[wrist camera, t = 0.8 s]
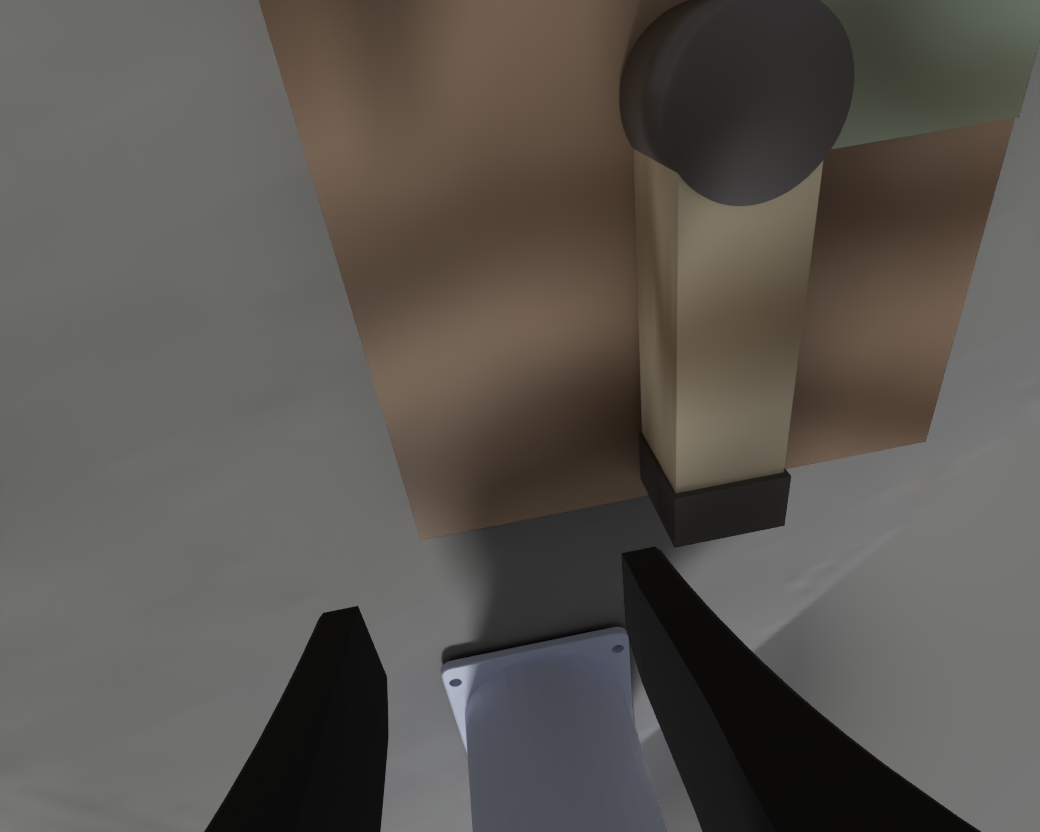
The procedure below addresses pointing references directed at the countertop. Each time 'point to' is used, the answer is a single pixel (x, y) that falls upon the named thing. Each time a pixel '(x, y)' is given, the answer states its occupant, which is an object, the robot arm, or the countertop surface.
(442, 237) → the wooden board
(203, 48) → the countertop surface
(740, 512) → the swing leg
